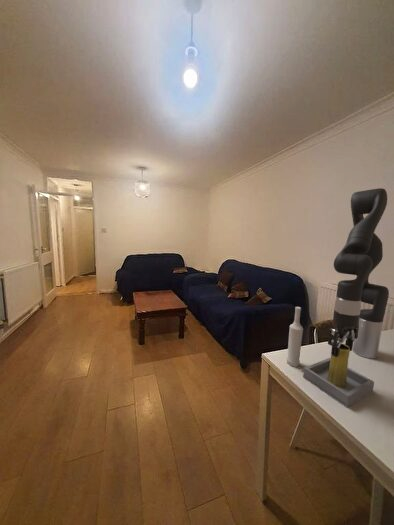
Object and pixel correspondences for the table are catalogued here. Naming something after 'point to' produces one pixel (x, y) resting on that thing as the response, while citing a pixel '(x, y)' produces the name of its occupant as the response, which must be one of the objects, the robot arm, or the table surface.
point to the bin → (345, 395)
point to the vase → (339, 367)
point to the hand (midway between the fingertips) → (341, 352)
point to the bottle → (295, 340)
